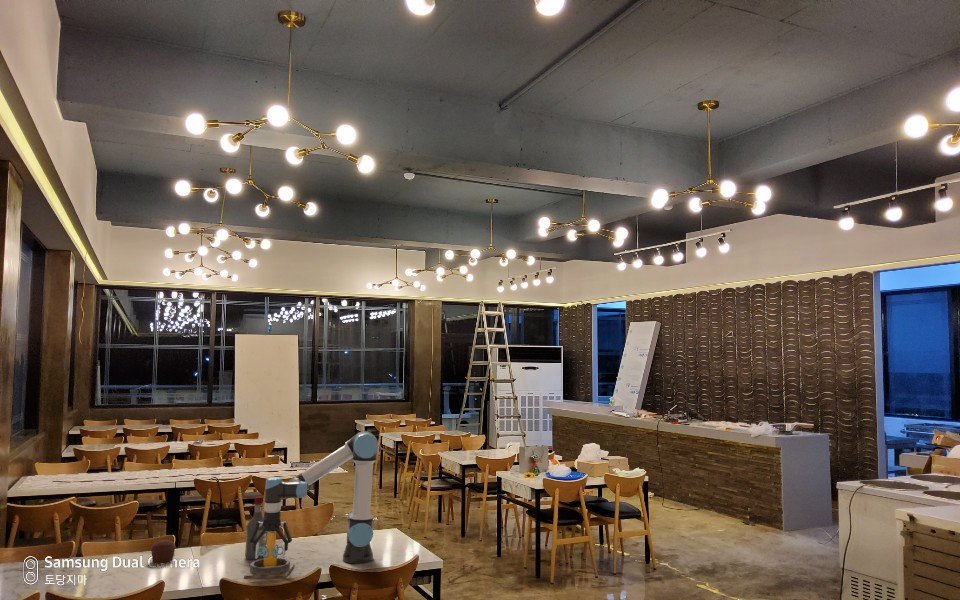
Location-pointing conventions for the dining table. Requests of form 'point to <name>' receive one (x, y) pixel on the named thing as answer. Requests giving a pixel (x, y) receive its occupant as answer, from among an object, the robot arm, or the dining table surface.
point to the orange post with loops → (270, 550)
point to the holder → (269, 569)
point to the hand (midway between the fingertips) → (270, 557)
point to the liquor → (251, 528)
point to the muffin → (163, 551)
